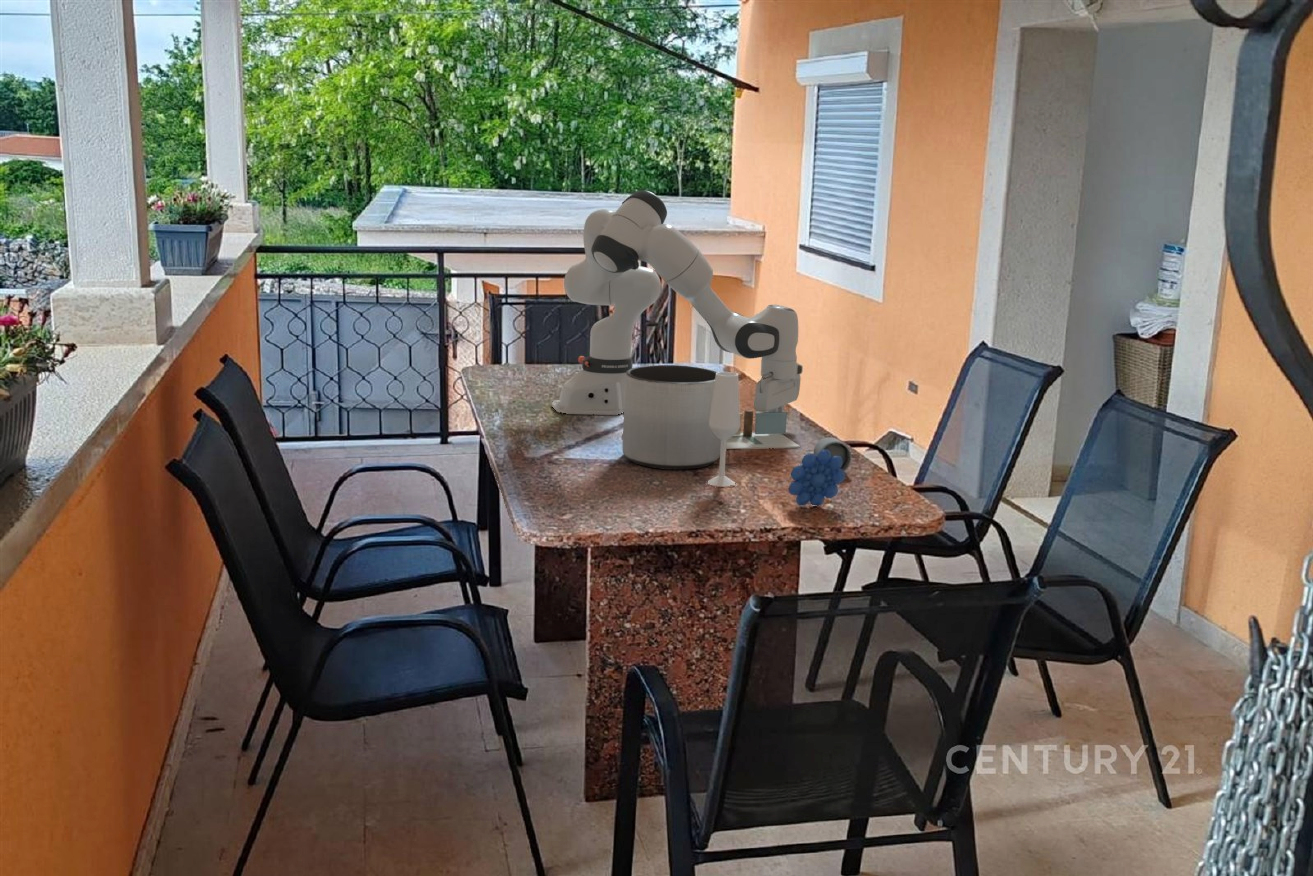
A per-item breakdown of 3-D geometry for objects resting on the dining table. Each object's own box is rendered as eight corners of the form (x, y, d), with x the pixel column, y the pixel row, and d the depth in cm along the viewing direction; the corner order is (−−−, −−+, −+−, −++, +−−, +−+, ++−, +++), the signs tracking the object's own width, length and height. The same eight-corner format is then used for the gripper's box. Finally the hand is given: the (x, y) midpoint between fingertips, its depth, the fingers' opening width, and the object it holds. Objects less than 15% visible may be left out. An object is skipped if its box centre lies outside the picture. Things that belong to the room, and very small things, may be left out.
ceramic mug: (842, 466, 282) (844, 433, 280) (850, 475, 274) (852, 442, 272) (796, 466, 281) (798, 433, 279) (804, 475, 273) (805, 442, 271)
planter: (635, 473, 268) (639, 383, 264) (612, 448, 290) (614, 365, 285) (733, 470, 274) (737, 382, 270) (702, 445, 296) (706, 364, 291)
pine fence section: (703, 439, 301) (704, 412, 300) (700, 437, 303) (701, 411, 302) (753, 438, 305) (754, 411, 303) (750, 436, 307) (751, 410, 305)
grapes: (836, 500, 254) (840, 444, 251) (846, 509, 247) (850, 452, 244) (782, 500, 252) (785, 444, 249) (790, 510, 245) (794, 452, 243)
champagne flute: (711, 488, 259) (717, 377, 253) (701, 480, 265) (706, 371, 259) (741, 487, 260) (747, 376, 255) (730, 479, 267) (736, 370, 261)
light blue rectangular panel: (755, 434, 305) (756, 413, 304) (754, 433, 306) (755, 412, 305) (786, 433, 307) (787, 412, 306) (784, 432, 308) (786, 411, 307)
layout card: (717, 450, 292) (717, 448, 291) (699, 435, 306) (699, 433, 306) (799, 447, 297) (800, 445, 297) (778, 433, 311) (778, 431, 311)
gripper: (772, 377, 297) (769, 432, 300) (805, 365, 314) (802, 418, 317) (749, 373, 300) (746, 428, 303) (783, 362, 317) (779, 414, 320)
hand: (775, 423), depth 310 cm, fingers closed
